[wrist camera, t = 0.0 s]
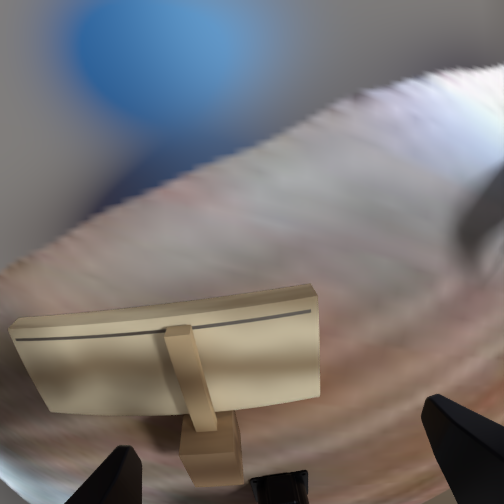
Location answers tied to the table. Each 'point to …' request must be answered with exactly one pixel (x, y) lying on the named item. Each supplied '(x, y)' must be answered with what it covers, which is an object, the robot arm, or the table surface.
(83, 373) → the board
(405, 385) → the table surface
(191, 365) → the wooden mallet
